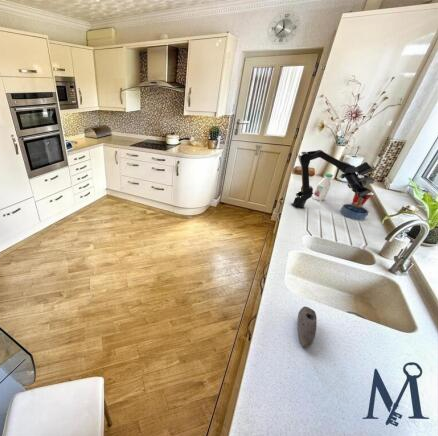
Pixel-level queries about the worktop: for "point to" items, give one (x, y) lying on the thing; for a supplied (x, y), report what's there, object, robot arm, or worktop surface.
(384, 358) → the worktop surface
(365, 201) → the plastic cup
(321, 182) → the milk bottle
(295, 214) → the worktop surface
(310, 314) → the perforated stone tool
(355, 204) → the muddler
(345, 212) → the bowl
